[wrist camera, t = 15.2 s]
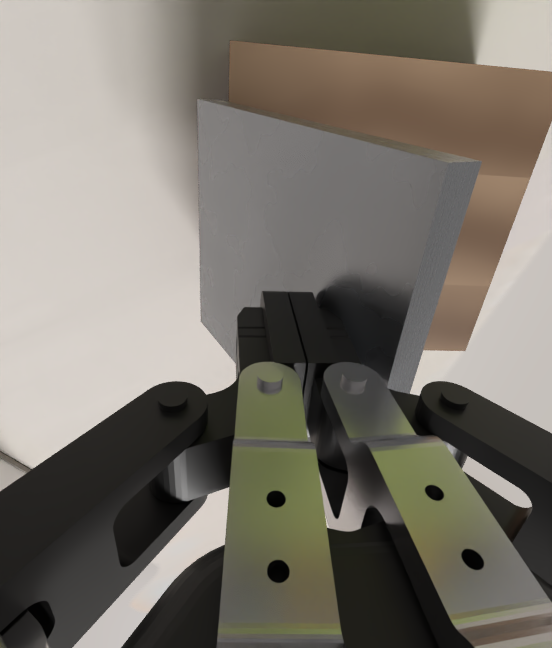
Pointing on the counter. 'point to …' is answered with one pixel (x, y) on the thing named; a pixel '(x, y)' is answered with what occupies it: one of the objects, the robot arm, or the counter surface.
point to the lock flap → (327, 227)
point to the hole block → (420, 138)
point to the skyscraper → (10, 470)
